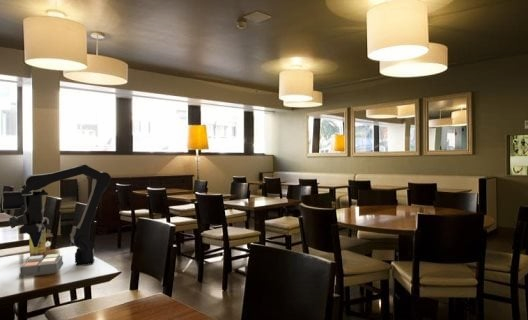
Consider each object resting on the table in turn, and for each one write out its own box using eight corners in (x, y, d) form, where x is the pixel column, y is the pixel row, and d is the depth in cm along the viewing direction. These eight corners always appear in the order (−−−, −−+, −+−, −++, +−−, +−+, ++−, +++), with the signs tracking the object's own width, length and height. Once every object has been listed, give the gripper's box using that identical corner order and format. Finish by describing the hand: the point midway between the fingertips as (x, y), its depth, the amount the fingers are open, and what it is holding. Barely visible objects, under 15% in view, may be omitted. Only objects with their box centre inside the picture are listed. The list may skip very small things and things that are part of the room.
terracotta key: (39, 266, 146) (39, 261, 146) (36, 269, 141) (36, 264, 141) (26, 267, 144) (26, 262, 144) (23, 271, 140) (23, 266, 140)
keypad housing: (63, 263, 155) (63, 255, 154) (57, 272, 143) (56, 263, 143) (28, 267, 150) (28, 258, 150) (19, 276, 139) (19, 267, 139)
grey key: (43, 260, 151) (43, 255, 151) (40, 263, 147) (40, 258, 147) (31, 261, 150) (30, 256, 150) (27, 264, 146) (27, 259, 146)
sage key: (59, 258, 153) (59, 253, 153) (57, 261, 149) (57, 256, 149) (47, 259, 152) (47, 254, 152) (45, 262, 148) (45, 257, 148)
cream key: (56, 262, 147) (56, 257, 147) (54, 265, 143) (54, 260, 143) (44, 263, 146) (44, 258, 146) (41, 266, 142) (41, 261, 142)
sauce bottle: (40, 257, 164) (39, 213, 163) (26, 258, 164) (25, 213, 163) (49, 253, 170) (48, 211, 170) (35, 253, 170) (34, 211, 170)
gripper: (17, 205, 150) (19, 243, 150) (1, 212, 132) (3, 255, 133) (48, 203, 154) (50, 240, 154) (37, 210, 136) (39, 252, 136)
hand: (35, 246), depth 144 cm, fingers closed
